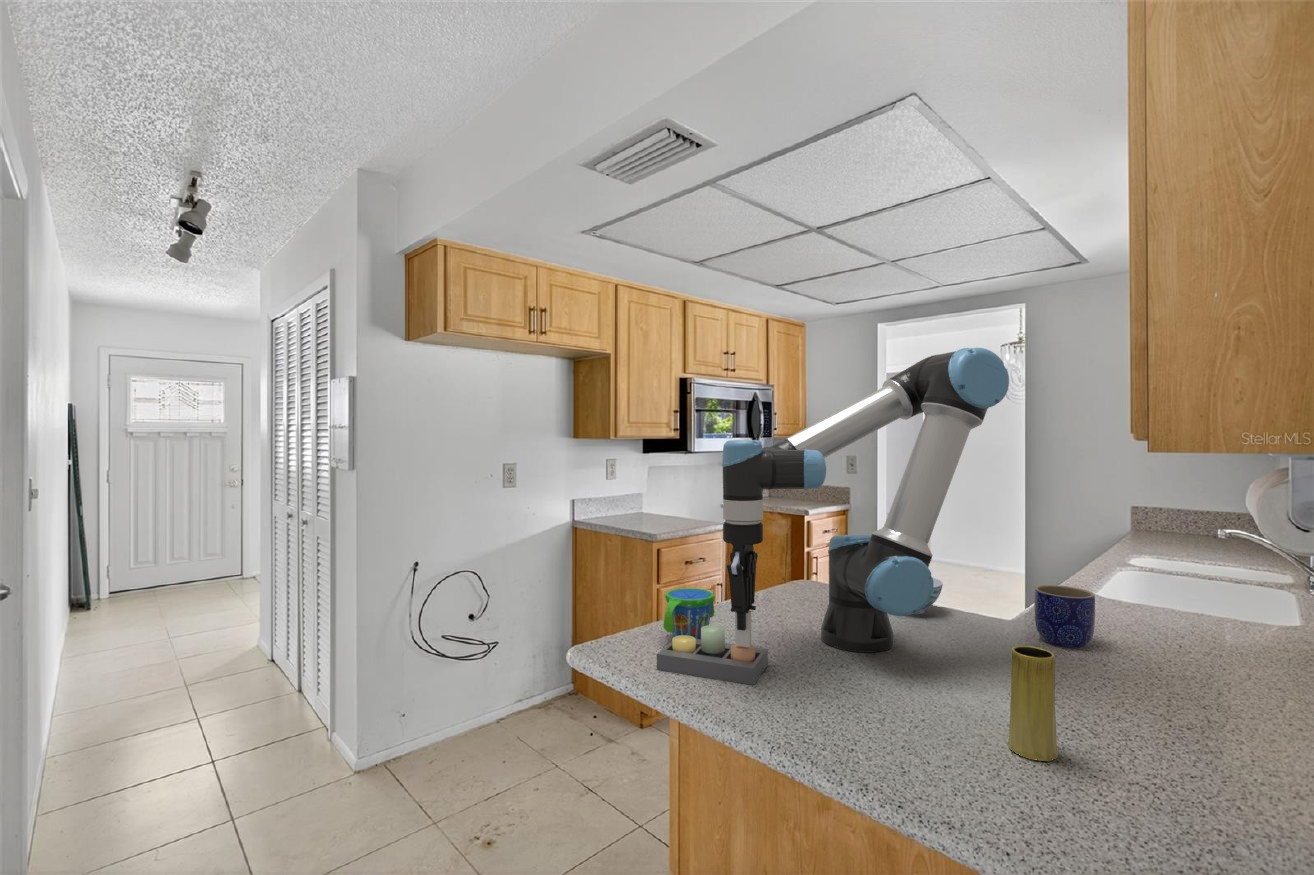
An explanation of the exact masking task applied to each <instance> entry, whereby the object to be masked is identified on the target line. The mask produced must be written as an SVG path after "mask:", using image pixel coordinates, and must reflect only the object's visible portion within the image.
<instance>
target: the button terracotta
mask: <svg viewBox="0 0 1314 875" xmlns="http://www.w3.org/2000/svg"><path fill="white" fill-rule="evenodd" d="M732 644H733V645H731V659H732V660H739V661H746V662H752V663H753V662H754V661H755V647H756V646H754V644H751V646H750V647H743V646H736V643H732Z"/></svg>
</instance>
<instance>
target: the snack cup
mask: <svg viewBox="0 0 1314 875" xmlns="http://www.w3.org/2000/svg"><path fill="white" fill-rule="evenodd" d="M664 597H665V601H666V602H667V605H666V608H665V613H664V617H663V628H664V631H666V632H667V633H670V634H671V635H672V638H673V637H675V636H679V635H688V636H692V637H694V638H695V639H700V640H701V628H702V627H703V626H707V625H710V620H711V618H713V617H714V616H715V606H714V602H715V600H716V599H715V598H716V597H715V595H714V592H712V591H710V590H707V589H702V588H696V587H695V588H694V587H689V588H688V587H686V588H685V587H684V588H675V589H671V590H668V591H667V592H666V593H665V595H664Z"/></svg>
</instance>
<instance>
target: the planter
mask: <svg viewBox="0 0 1314 875" xmlns="http://www.w3.org/2000/svg"><path fill="white" fill-rule="evenodd" d="M1033 605H1034V622H1035V629H1036V631H1037V633H1038V634H1039V636H1040V637H1041V639H1043V641H1045V642H1046V643H1048V644H1051V645H1053V646H1057V647H1061V648H1068V649H1078V648H1083V647H1085V646H1087V645H1088V644H1090V642H1091V641H1092V639H1093V638H1094V635H1095V634H1094V633H1095V623H1096V595H1095V593H1094V592H1092V591H1090V590H1087V589H1083V588H1079V587H1075V586H1074V587H1073V586H1067V585H1057V584H1044V585H1037V586H1036V587H1035V588H1034V604H1033Z"/></svg>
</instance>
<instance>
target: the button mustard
mask: <svg viewBox="0 0 1314 875" xmlns="http://www.w3.org/2000/svg"><path fill="white" fill-rule="evenodd" d="M671 642H672V651H678V652H685V653H693V652H694V651H695V650H696V639H695V638H694V637H692V636H688V635H679V636H675V637H673V636H672V638H671Z"/></svg>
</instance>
